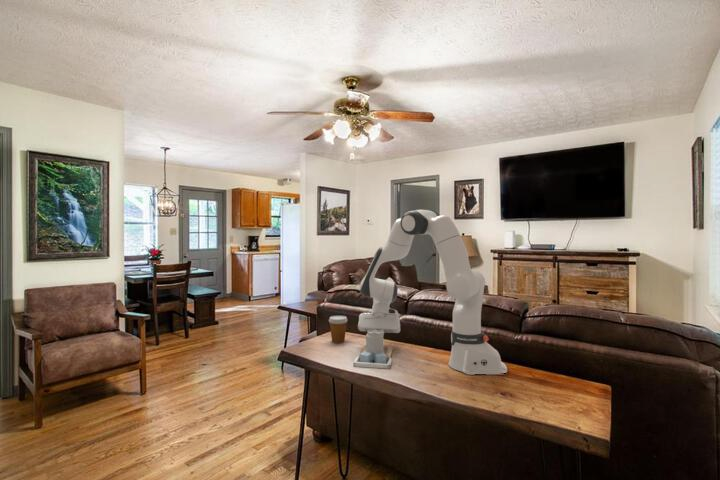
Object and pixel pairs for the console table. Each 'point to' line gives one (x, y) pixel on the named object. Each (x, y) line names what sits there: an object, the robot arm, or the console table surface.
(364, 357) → the light blue cubic block
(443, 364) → the console table surface
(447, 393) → the console table surface
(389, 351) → the slot rails
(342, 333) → the disposable coffee cup
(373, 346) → the can
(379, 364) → the white u-shaped frame
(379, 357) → the light blue boxy piece
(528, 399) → the console table surface
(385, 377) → the console table surface
